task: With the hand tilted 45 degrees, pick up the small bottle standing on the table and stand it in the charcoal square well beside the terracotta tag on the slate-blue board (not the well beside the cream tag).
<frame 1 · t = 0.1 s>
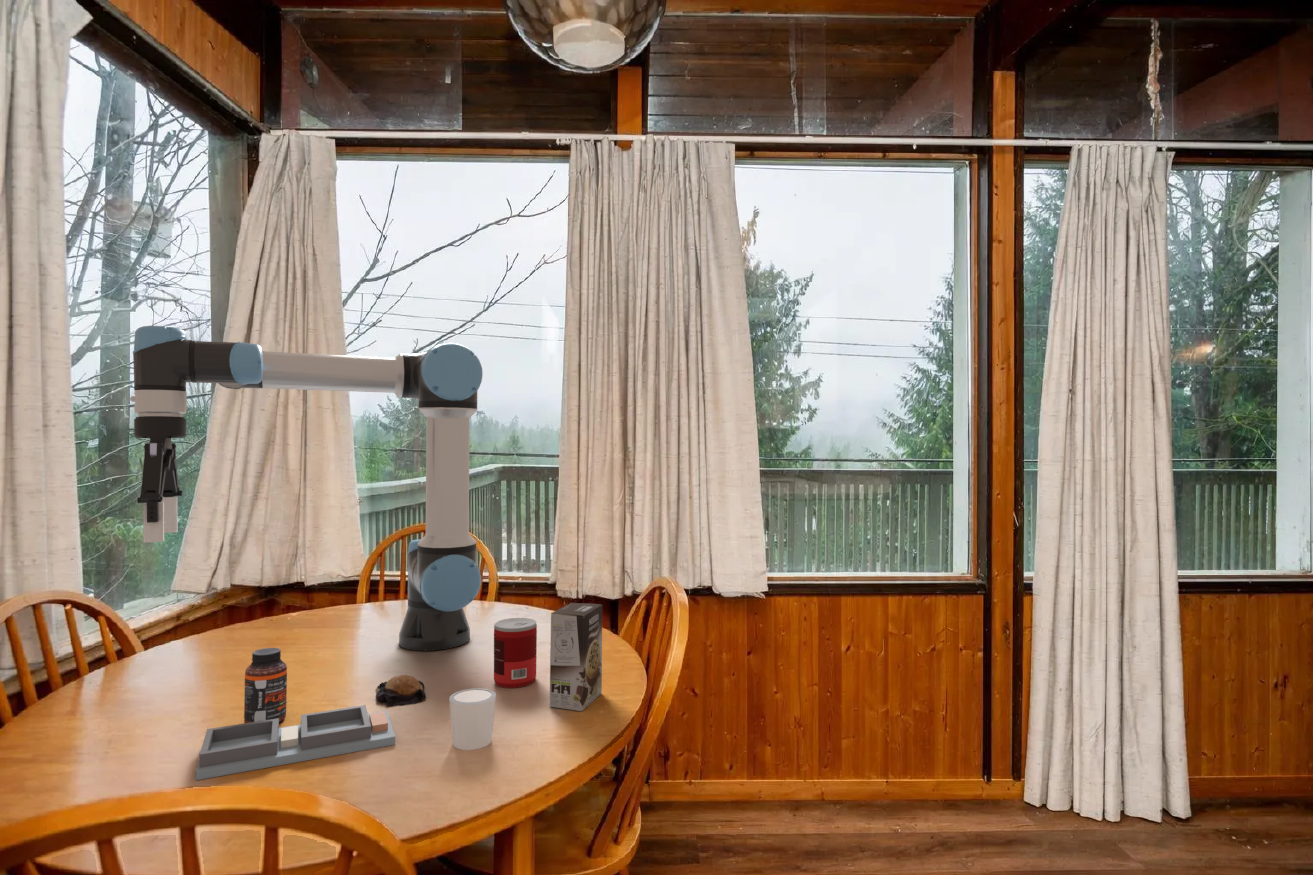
hand: (161, 537, 124), 28 cm above the table, tool pointing down, fingers open, 13 cm apart
shot glass: (472, 743, 106), on the table
supplement bottle: (265, 722, 113), on the table
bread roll: (400, 698, 126), on the table
coffee box: (576, 701, 124), on the table
tag board: (300, 745, 104), on the table
canned food: (515, 682, 133), on the table
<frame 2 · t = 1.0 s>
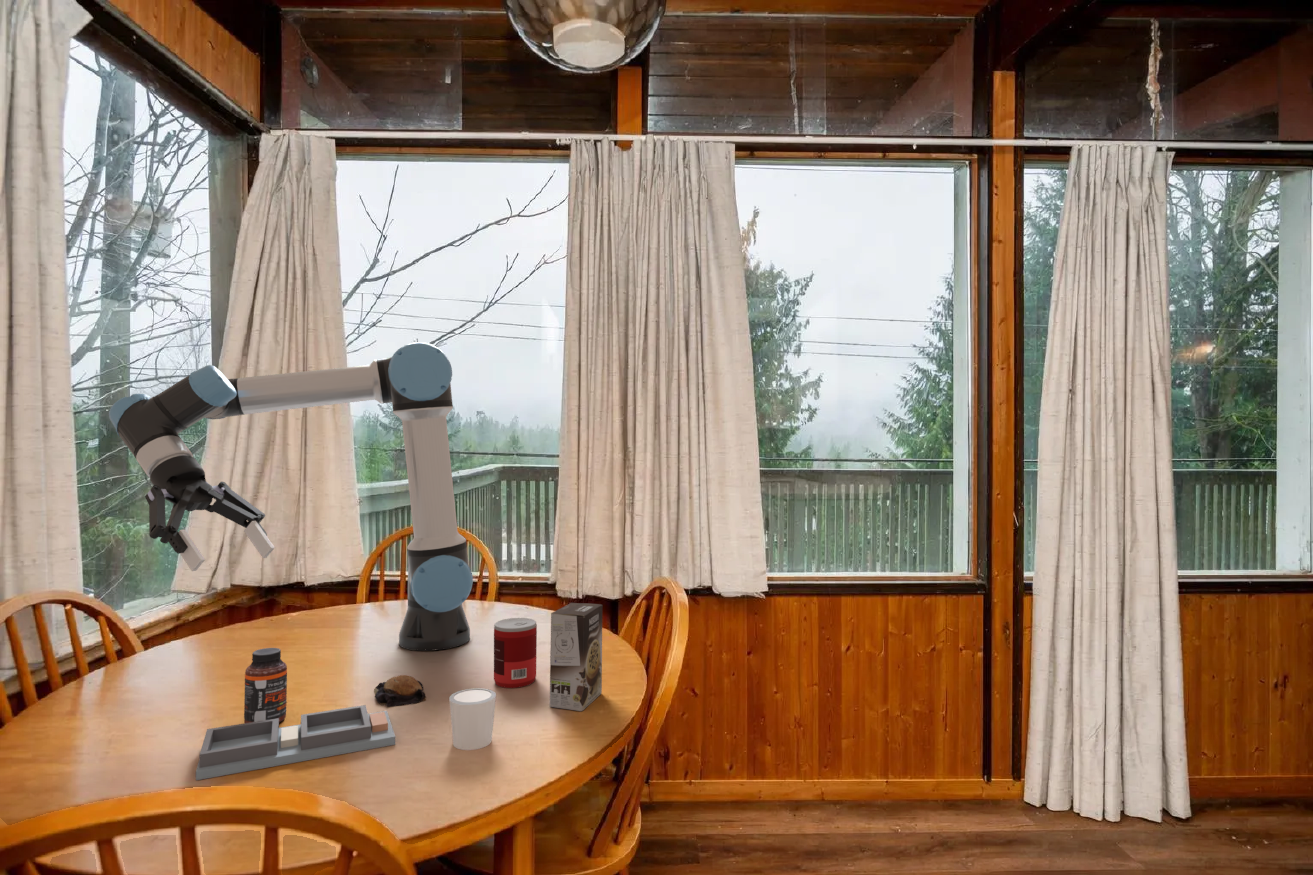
hand: (235, 559, 120), 25 cm above the table, tool tilted 45°, fingers open, 13 cm apart
nothing on the table moved.
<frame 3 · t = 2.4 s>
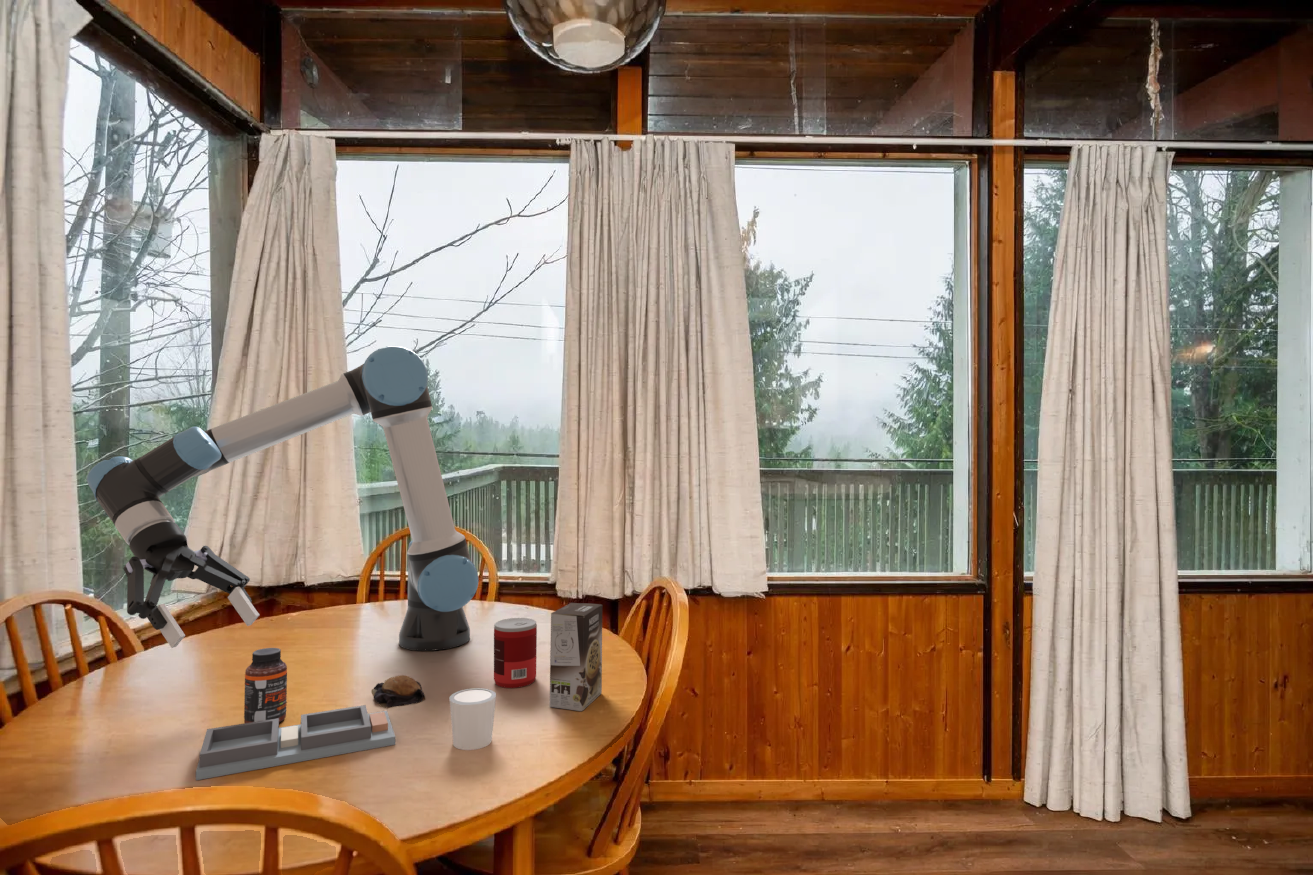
hand: (218, 630, 116), 14 cm above the table, tool tilted 45°, fingers open, 13 cm apart
nothing on the table moved.
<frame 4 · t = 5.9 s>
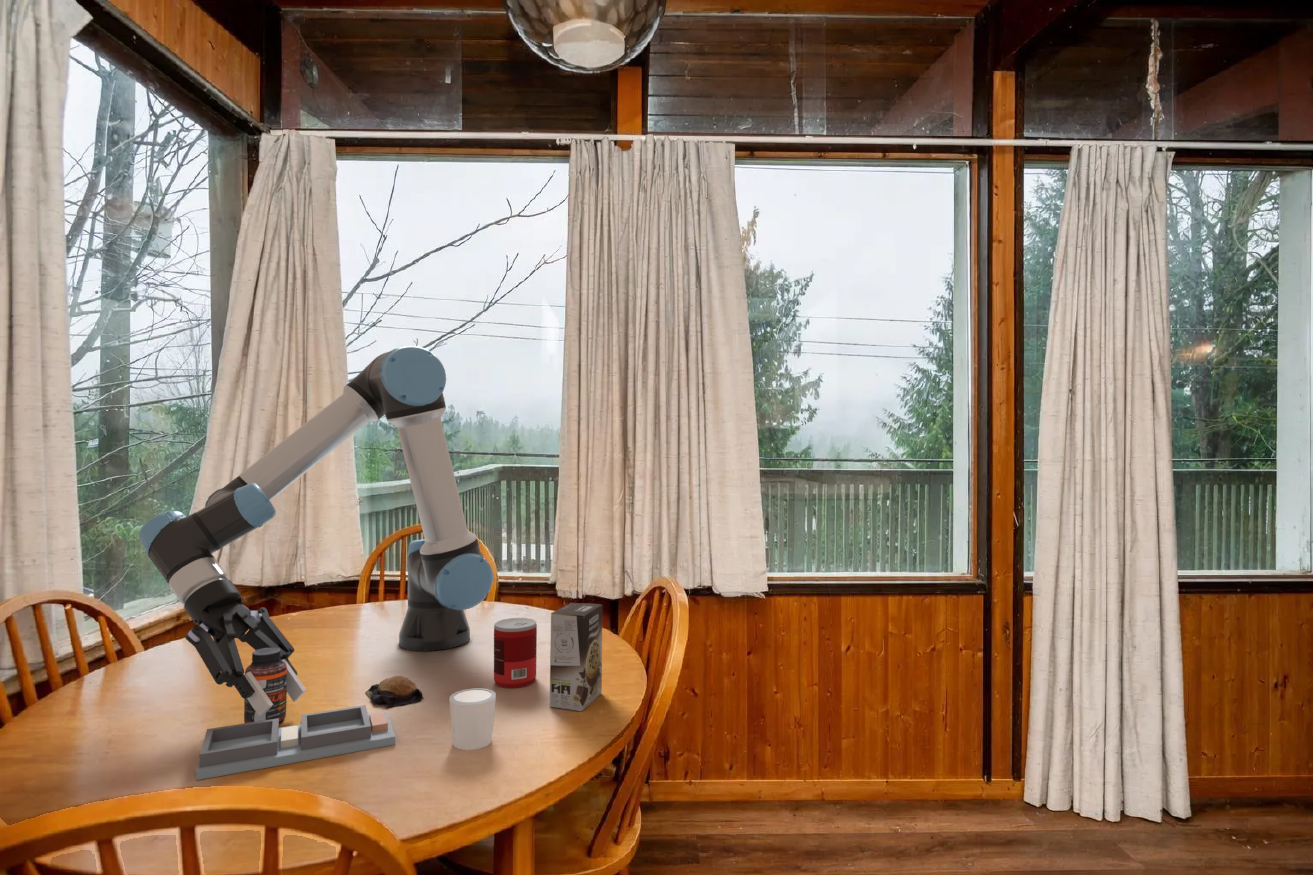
hand: (283, 702, 112), 3 cm above the table, tool tilted 45°, fingers closed on supplement bottle, 6 cm apart
supplement bottle: (265, 722, 113), on the table, touching gripper
when the fingers open (6 cm above the table, at t = 10.1 s): supplement bottle drops 1 cm, resting on tag board.
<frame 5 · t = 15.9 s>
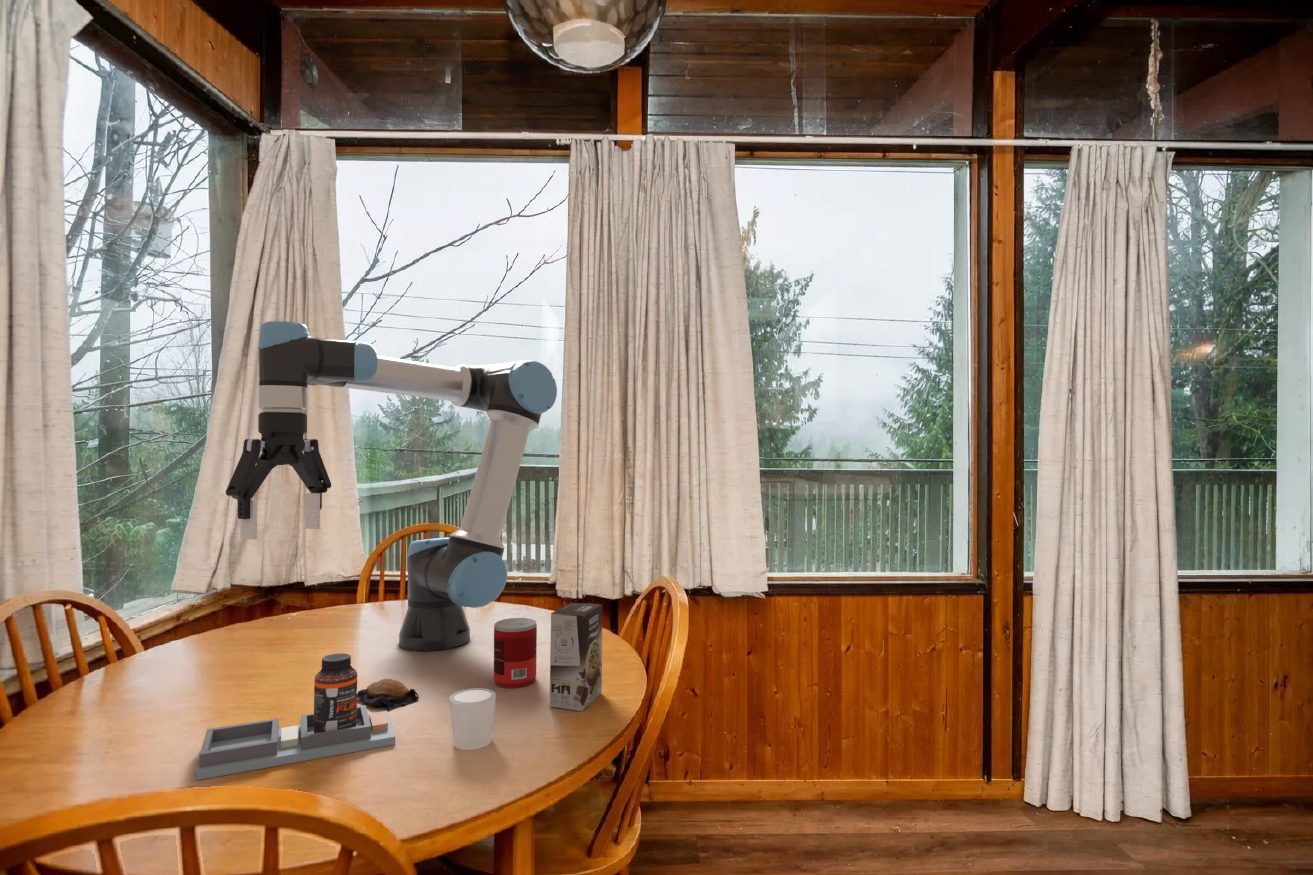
hand: (282, 533, 123), 29 cm above the table, tool pointing down, fingers open, 13 cm apart
supplement bottle: (335, 733, 107), point 1 cm above the table, touching tag board
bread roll: (385, 703, 123), on the table
everything else where it was.
at the end: supplement bottle 0.1 cm from the target spot on the tag board, point 1.0 cm above the tag board's base; supplement bottle tilted 0°; the gripper is holding nothing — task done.
